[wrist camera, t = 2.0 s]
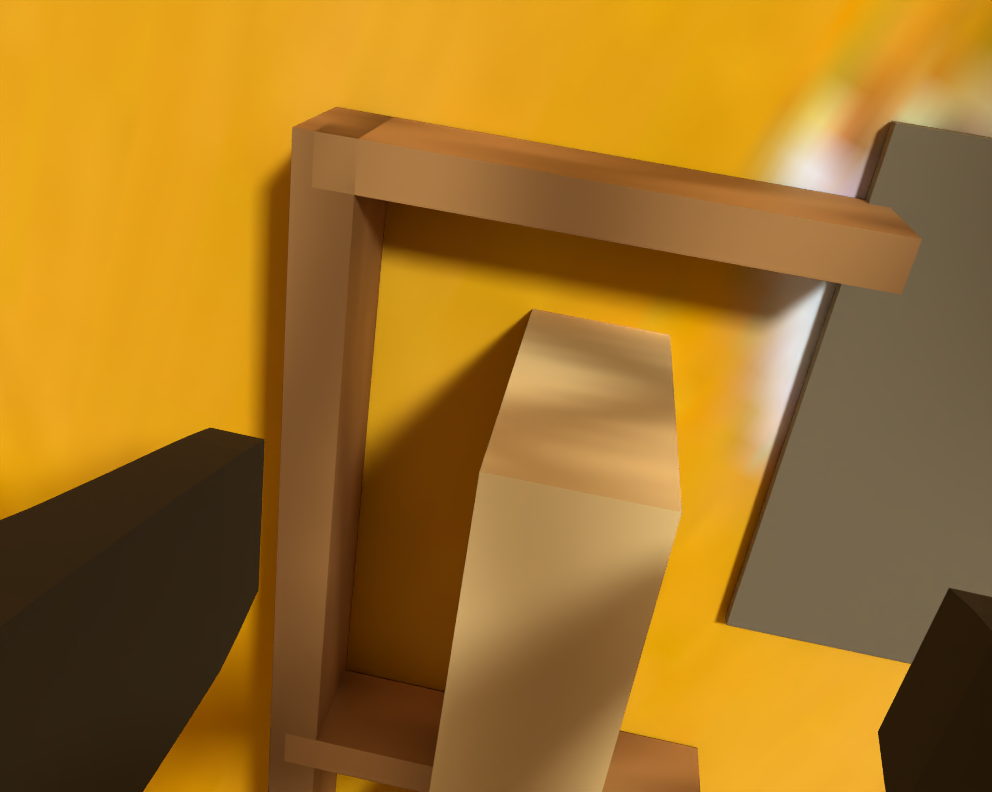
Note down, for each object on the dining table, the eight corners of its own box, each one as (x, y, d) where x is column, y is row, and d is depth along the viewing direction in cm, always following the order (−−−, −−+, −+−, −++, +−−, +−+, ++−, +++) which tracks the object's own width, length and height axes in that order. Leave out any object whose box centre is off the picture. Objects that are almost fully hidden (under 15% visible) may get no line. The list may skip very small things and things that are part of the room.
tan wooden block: (670, 333, 19) (682, 512, 13) (583, 676, 24) (561, 932, 17) (532, 307, 19) (479, 471, 13) (473, 652, 24) (412, 896, 18)
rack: (886, 203, 17) (921, 239, 15) (634, 929, 28) (633, 1013, 25) (336, 107, 18) (292, 126, 16) (293, 848, 28) (263, 923, 26)
